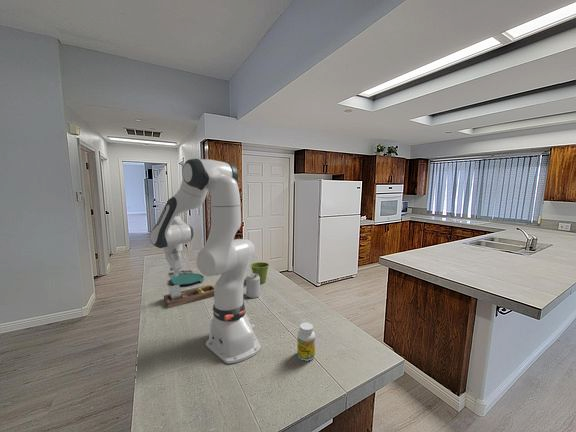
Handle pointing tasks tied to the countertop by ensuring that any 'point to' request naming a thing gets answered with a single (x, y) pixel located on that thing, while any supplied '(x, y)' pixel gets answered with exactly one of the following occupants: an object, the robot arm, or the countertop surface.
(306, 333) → the supplement bottle
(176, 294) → the steel block
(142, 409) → the countertop surface
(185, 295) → the walnut rail
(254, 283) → the can
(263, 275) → the plant pot
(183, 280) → the cutlery set
